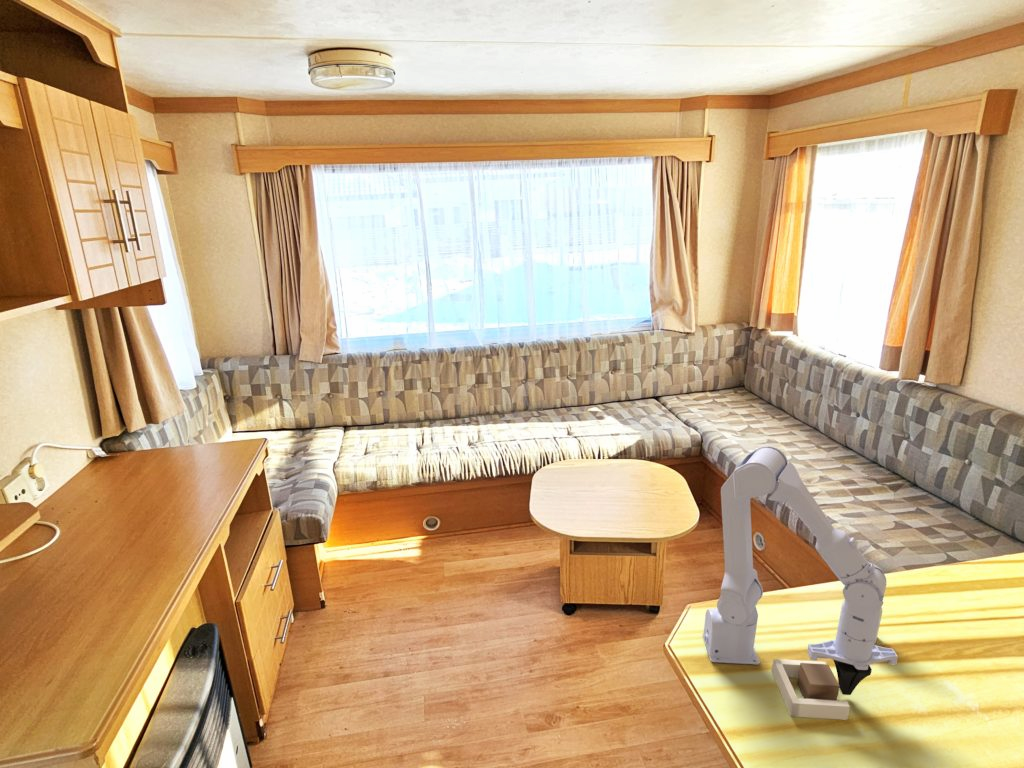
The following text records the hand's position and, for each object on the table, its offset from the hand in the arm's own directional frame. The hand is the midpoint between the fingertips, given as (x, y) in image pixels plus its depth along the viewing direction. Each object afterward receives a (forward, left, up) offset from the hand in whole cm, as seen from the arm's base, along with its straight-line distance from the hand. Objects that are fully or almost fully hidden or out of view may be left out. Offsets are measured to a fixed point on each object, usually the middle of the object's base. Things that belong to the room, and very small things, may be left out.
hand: (844, 690), depth 108 cm
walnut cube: (-5, 0, -2) cm, 5 cm away
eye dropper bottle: (+11, +16, -2) cm, 19 cm away
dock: (-6, 0, -1) cm, 6 cm away
